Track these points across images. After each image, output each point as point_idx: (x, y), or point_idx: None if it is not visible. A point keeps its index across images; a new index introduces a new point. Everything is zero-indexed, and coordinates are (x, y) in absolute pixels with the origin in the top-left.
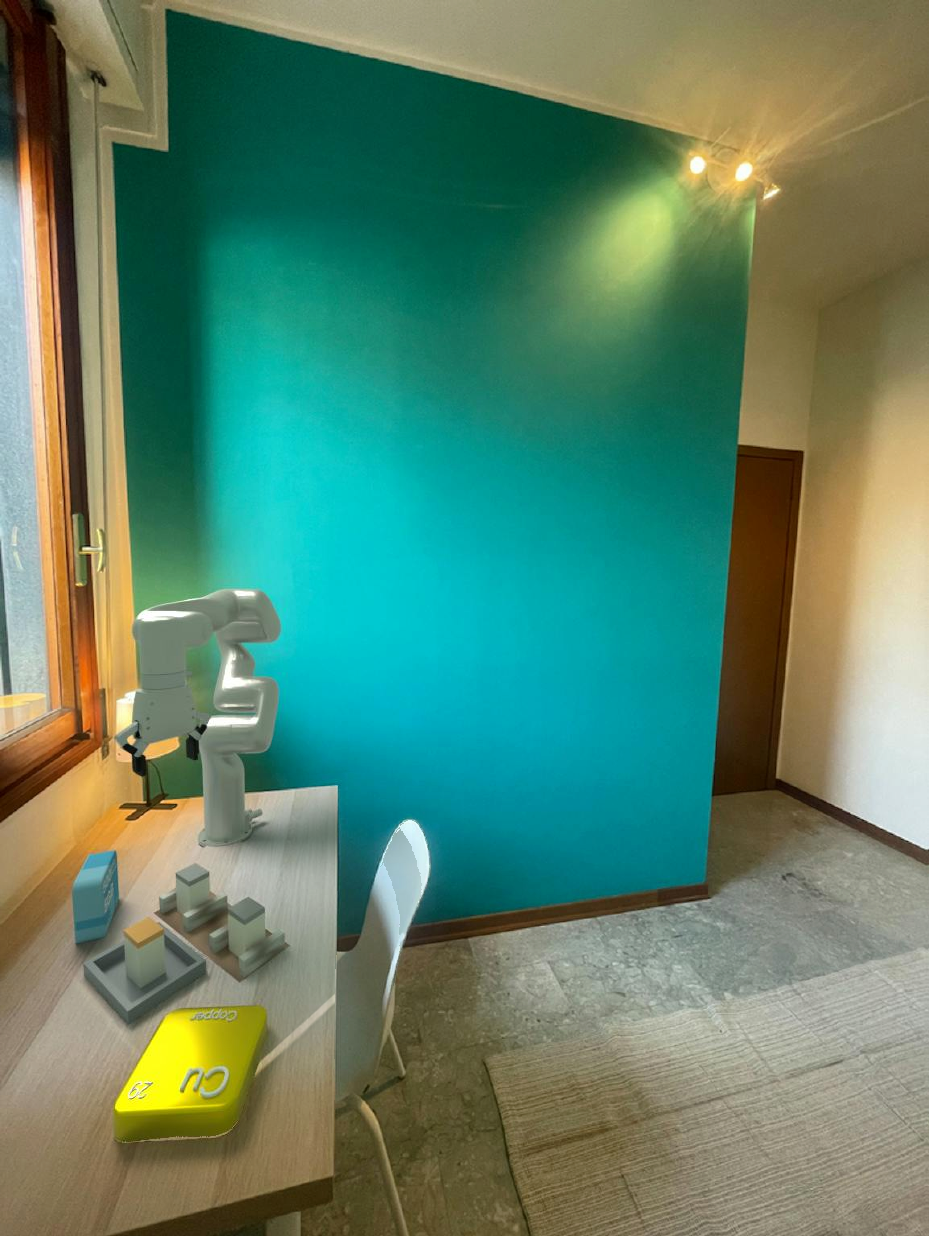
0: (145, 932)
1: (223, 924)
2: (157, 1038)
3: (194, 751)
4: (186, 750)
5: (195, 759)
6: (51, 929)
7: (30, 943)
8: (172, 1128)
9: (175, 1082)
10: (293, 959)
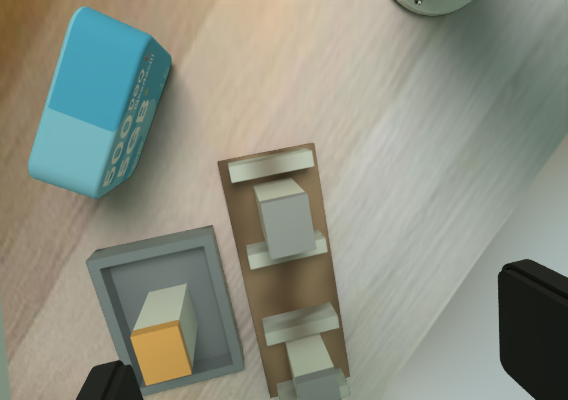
0: (162, 365)
1: (299, 275)
2: None
3: None
4: (547, 296)
5: (511, 374)
6: (47, 58)
7: (11, 79)
8: None
9: None
10: None
